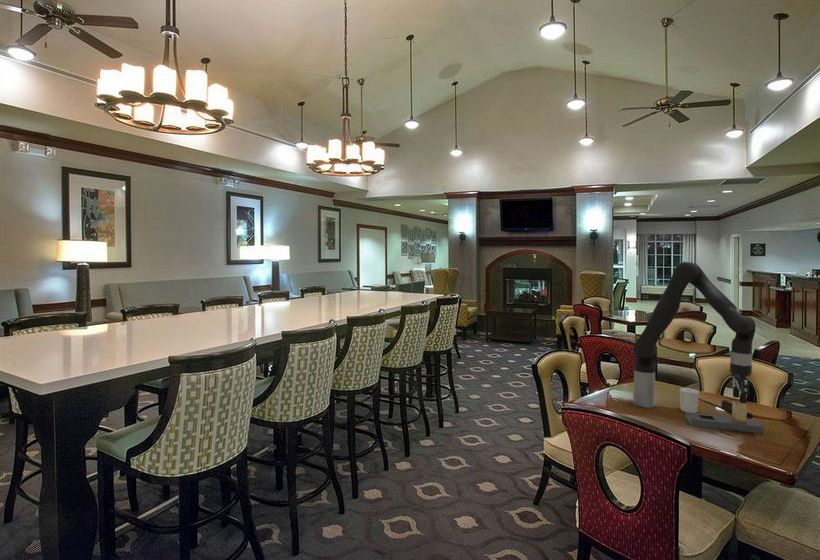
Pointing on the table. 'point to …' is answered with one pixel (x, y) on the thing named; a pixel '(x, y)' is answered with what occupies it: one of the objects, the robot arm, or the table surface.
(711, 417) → the post plate
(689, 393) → the white cup
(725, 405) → the hand tool
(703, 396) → the table surface
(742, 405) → the brass block
